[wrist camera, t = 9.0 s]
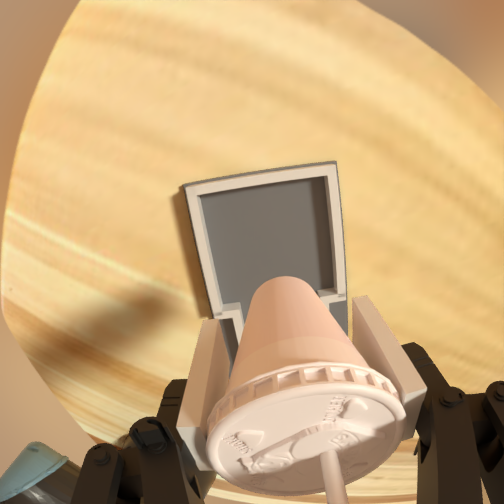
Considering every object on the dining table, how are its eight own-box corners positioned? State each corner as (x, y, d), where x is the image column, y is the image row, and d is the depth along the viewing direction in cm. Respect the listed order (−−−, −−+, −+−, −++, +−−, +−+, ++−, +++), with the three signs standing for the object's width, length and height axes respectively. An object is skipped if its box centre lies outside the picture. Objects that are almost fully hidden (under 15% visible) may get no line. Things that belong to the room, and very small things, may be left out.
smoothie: (346, 338, 18) (430, 559, 5) (242, 362, 18) (234, 596, 5) (331, 238, 16) (499, 490, 3) (210, 268, 16) (129, 556, 3)
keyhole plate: (236, 400, 36) (235, 412, 34) (184, 183, 28) (179, 186, 26) (346, 383, 35) (350, 395, 33) (334, 160, 27) (341, 161, 25)
